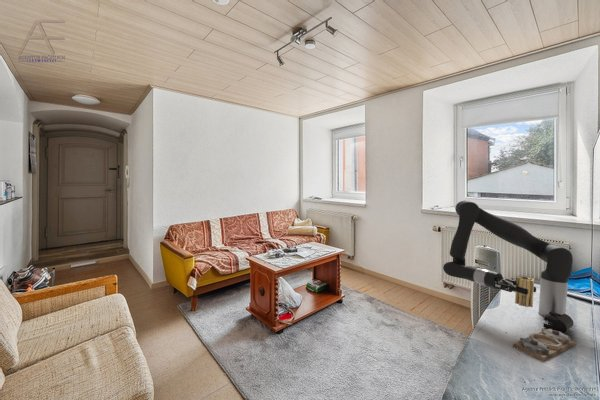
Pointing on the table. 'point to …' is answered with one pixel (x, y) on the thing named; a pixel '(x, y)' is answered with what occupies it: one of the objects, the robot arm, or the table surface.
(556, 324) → the end cap
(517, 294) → the pinion
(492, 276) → the robot arm
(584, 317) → the table surface
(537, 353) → the gear board
